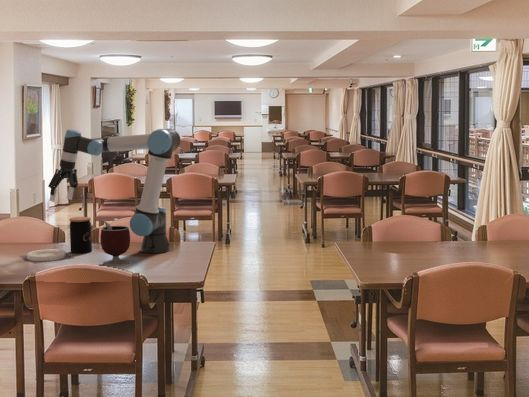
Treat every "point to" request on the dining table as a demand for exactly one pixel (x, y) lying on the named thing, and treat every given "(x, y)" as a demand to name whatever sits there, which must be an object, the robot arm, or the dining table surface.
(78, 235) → the coffee jar
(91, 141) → the robot arm
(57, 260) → the mat
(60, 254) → the dish
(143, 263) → the dining table surface
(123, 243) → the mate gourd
